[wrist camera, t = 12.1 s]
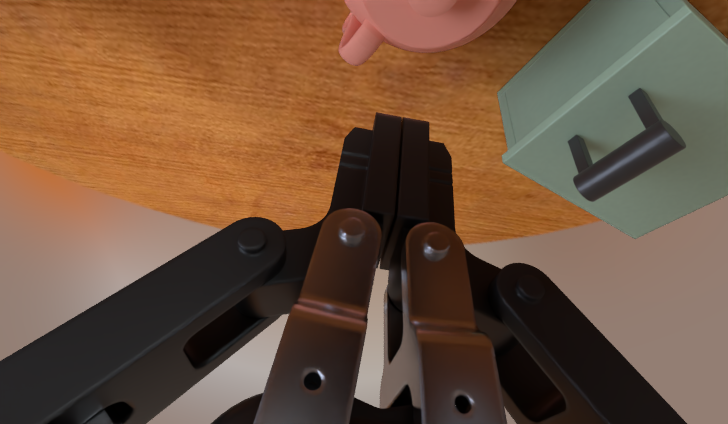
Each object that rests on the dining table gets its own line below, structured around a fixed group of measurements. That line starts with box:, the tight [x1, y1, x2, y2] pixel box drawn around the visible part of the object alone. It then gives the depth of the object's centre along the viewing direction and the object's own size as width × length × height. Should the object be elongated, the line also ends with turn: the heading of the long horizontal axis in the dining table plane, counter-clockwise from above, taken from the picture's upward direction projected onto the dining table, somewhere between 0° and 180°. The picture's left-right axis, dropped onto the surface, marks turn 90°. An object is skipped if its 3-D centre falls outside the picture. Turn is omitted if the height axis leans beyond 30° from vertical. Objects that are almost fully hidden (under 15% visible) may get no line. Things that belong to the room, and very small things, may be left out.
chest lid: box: [502, 5, 728, 239], centre depth 24 cm, size 14×12×6 cm
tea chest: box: [497, 0, 728, 150], centre depth 29 cm, size 14×12×8 cm
